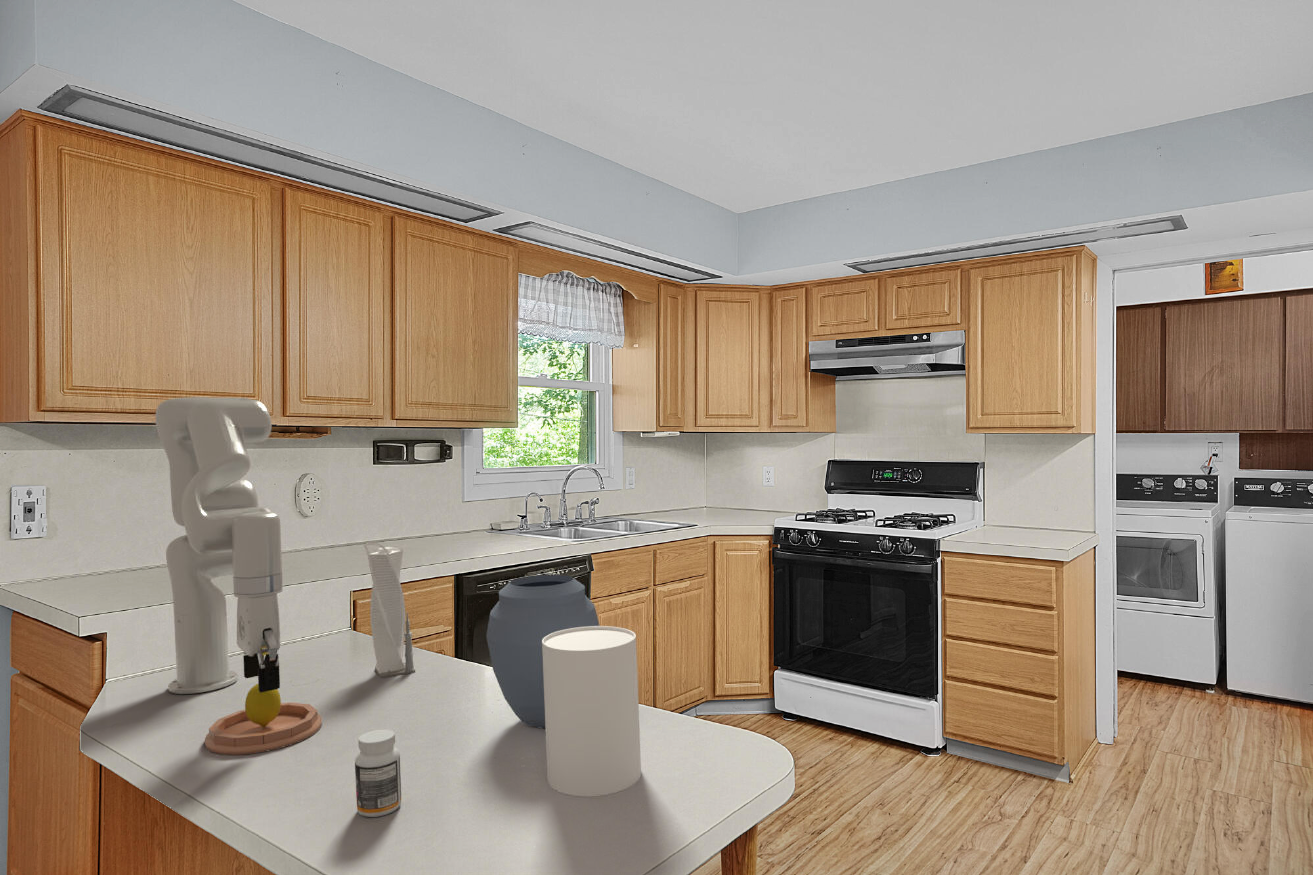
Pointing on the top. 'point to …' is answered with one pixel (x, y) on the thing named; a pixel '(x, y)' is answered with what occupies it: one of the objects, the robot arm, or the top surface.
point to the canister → (591, 710)
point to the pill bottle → (377, 774)
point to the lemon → (262, 705)
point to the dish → (262, 730)
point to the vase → (532, 636)
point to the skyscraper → (389, 613)
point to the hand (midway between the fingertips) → (261, 683)
